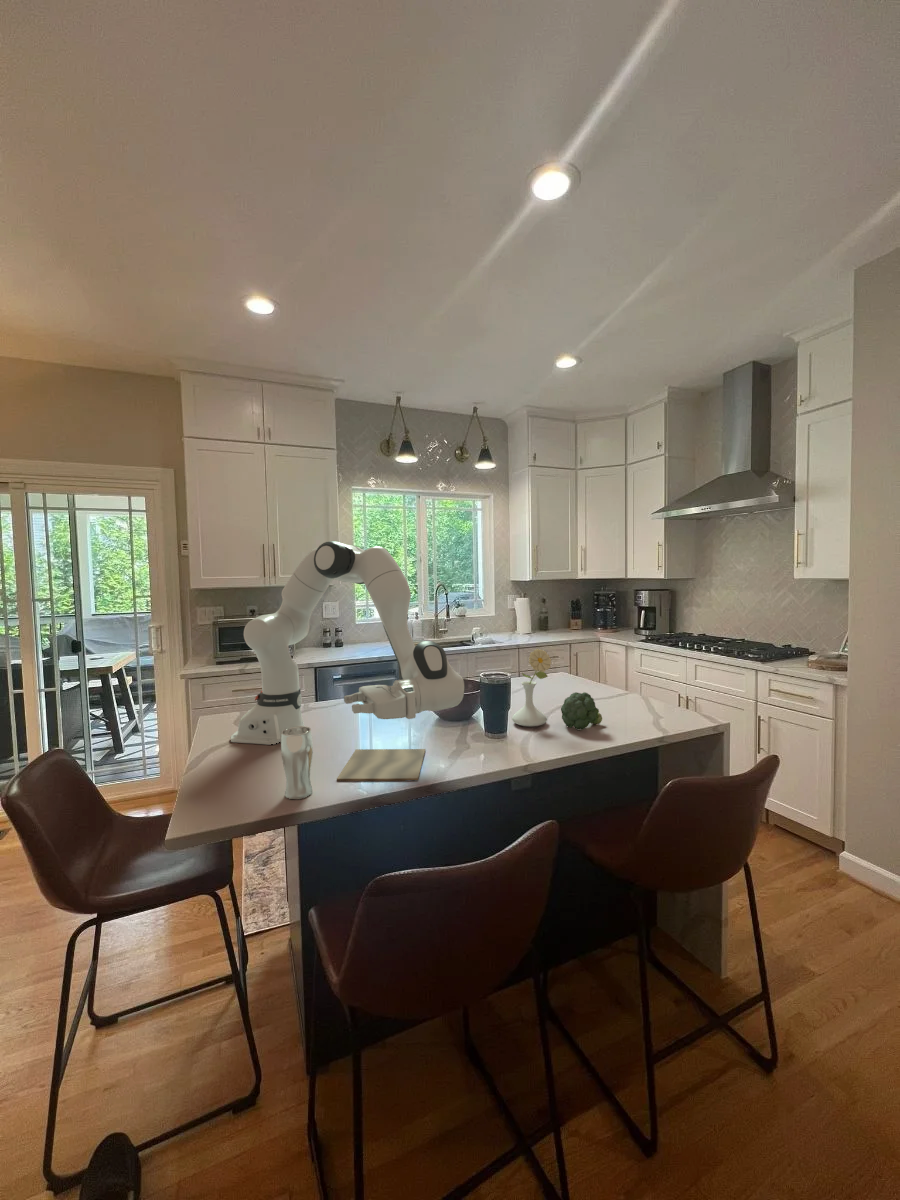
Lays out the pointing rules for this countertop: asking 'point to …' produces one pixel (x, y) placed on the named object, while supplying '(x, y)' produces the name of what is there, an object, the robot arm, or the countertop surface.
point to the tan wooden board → (383, 765)
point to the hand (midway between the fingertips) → (348, 704)
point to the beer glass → (297, 761)
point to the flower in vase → (529, 712)
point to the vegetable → (580, 711)
